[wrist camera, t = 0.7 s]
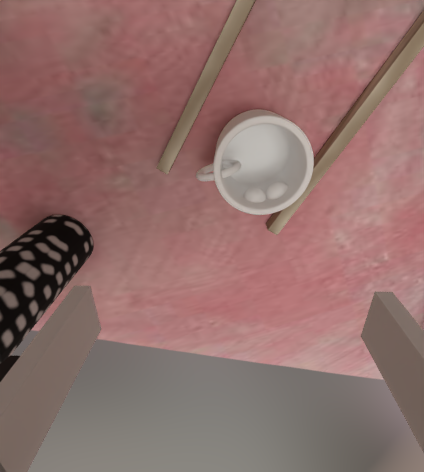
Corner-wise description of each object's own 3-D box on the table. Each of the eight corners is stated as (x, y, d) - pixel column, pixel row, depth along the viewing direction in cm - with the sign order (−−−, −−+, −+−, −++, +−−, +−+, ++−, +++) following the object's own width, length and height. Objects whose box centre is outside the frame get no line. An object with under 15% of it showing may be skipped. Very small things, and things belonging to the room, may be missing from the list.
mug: (210, 203, 39) (207, 234, 31) (188, 126, 35) (177, 138, 26) (299, 182, 37) (320, 209, 29) (288, 97, 33) (308, 101, 25)
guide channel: (159, 164, 37) (150, 174, 32) (311, -152, 24) (331, -206, 19) (274, 228, 40) (280, 246, 36) (461, -16, 27) (506, -36, 23)
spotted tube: (98, 263, 44) (14, 381, 27) (46, 263, 45) (-70, 378, 27) (86, 214, 41) (-21, 313, 23) (29, 214, 41) (-119, 312, 23)
